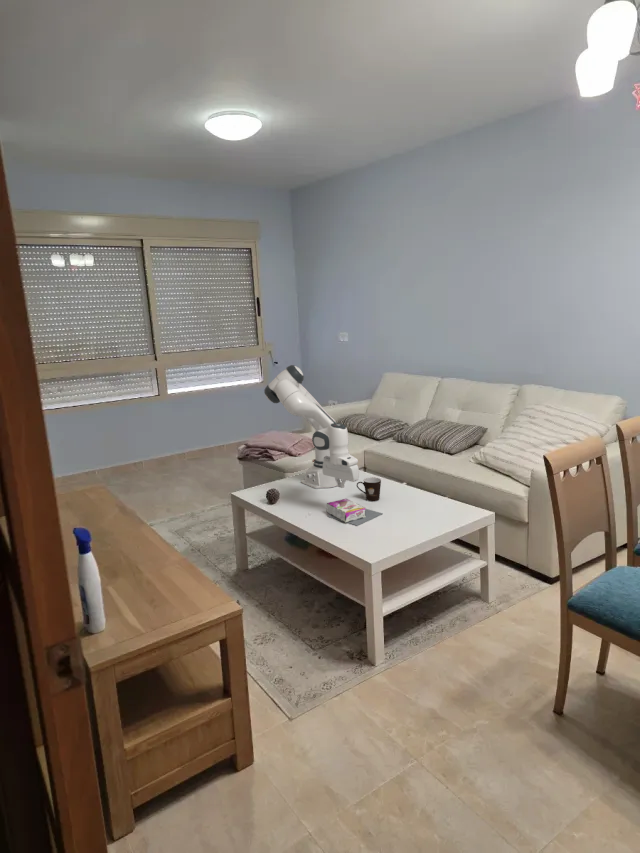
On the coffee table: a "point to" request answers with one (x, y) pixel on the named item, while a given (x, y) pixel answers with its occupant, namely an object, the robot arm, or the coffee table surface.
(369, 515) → the mat
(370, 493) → the coffee mug
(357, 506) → the candy bar box
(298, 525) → the coffee table surface
